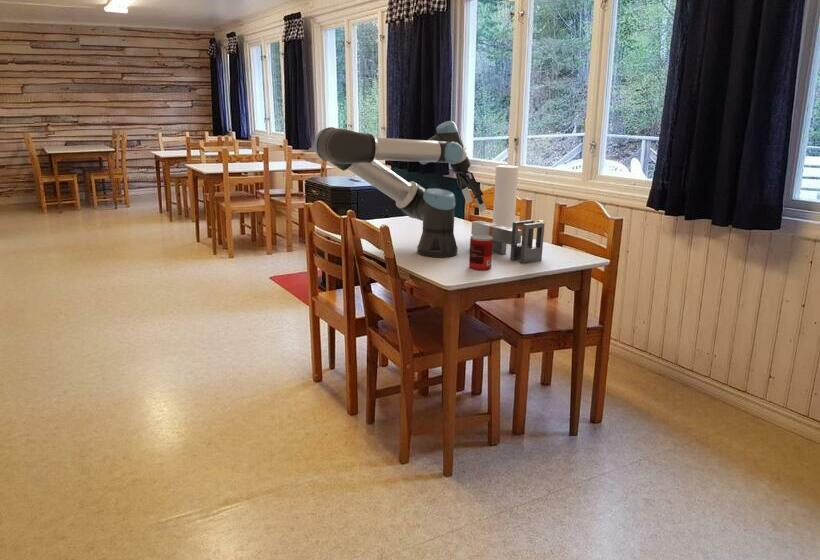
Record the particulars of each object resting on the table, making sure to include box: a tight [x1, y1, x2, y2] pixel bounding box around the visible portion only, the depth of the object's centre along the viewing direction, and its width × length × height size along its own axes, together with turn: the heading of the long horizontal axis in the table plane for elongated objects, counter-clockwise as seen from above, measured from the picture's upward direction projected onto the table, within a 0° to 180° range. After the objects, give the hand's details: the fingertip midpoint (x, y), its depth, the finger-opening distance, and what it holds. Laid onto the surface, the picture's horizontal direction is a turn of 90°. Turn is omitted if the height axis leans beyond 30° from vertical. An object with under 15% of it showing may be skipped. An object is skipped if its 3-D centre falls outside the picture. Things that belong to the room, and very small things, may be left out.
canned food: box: [468, 234, 493, 271], centre depth 212 cm, size 8×8×11 cm
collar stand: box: [509, 219, 546, 265], centre depth 224 cm, size 12×7×14 cm, turn 126°
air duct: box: [470, 220, 523, 246], centre depth 236 cm, size 22×5×5 cm, turn 36°
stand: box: [492, 240, 508, 255], centre depth 238 cm, size 2×11×5 cm, turn 36°
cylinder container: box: [492, 164, 519, 228], centre depth 266 cm, size 9×9×30 cm
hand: (476, 206), depth 253 cm, fingers open, 13 cm apart
